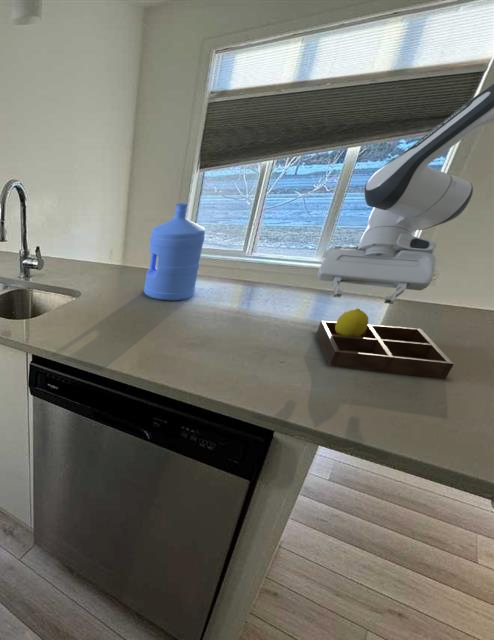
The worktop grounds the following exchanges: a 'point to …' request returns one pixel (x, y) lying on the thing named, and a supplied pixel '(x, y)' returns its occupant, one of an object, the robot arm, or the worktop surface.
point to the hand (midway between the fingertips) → (362, 299)
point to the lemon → (352, 323)
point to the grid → (385, 351)
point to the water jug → (174, 257)
